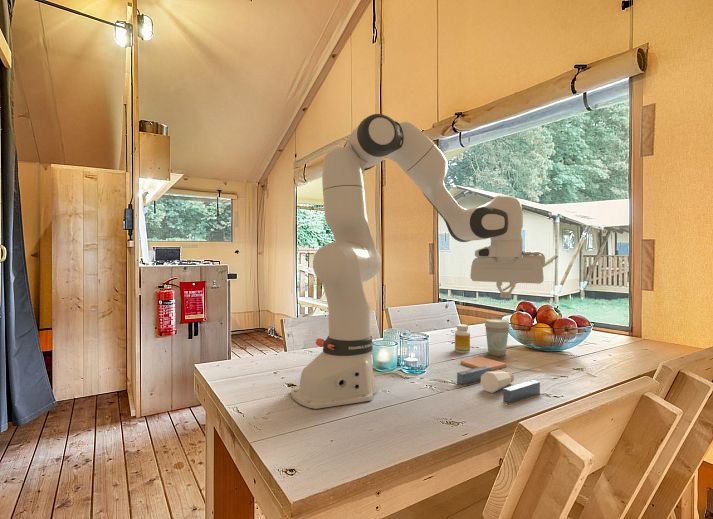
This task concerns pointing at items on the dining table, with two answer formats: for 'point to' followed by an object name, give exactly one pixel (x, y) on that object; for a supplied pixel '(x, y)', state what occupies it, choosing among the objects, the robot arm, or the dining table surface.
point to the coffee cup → (497, 336)
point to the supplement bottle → (462, 339)
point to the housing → (509, 393)
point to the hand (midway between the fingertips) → (505, 297)
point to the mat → (483, 363)
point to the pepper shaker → (496, 380)
